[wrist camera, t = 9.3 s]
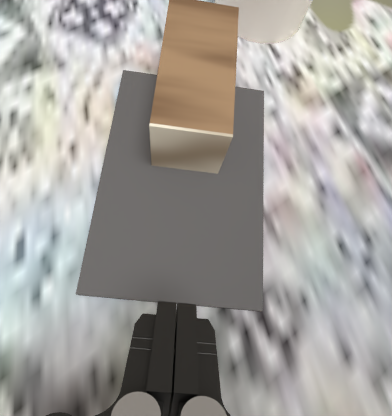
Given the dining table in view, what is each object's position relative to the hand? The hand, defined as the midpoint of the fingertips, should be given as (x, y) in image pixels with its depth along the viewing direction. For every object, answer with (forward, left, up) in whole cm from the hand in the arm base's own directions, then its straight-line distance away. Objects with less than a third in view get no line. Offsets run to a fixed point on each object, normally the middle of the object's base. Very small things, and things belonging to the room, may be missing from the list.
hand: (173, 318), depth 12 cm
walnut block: (-9, -4, -5) cm, 12 cm away
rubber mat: (-9, -4, -8) cm, 13 cm away
